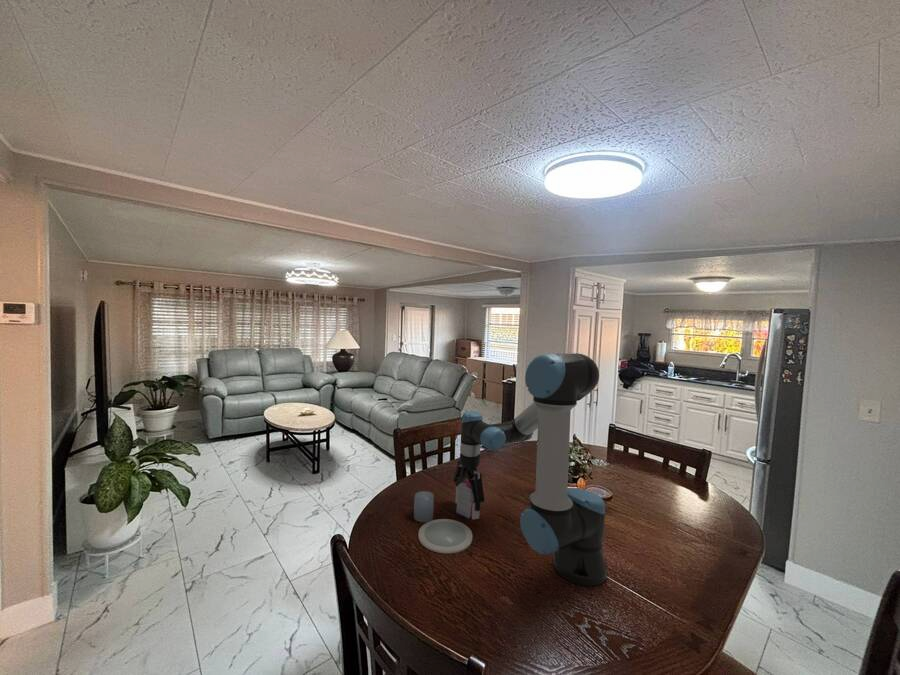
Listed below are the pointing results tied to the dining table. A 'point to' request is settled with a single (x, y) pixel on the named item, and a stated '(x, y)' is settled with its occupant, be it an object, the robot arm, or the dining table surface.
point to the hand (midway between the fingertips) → (466, 510)
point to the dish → (445, 536)
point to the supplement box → (464, 500)
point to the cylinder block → (423, 506)
